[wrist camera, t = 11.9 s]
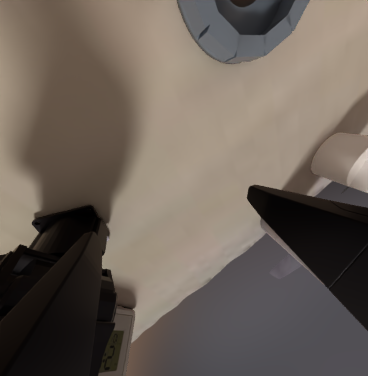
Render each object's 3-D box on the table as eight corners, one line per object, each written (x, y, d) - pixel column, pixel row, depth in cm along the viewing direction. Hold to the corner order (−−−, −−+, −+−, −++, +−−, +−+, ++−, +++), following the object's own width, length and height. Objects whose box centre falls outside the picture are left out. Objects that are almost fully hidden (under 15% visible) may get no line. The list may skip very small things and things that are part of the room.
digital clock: (138, 308, 34) (142, 378, 25) (105, 329, 33) (97, 408, 25) (84, 285, 25) (60, 382, 16) (37, 314, 24) (-15, 431, 15)
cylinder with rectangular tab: (332, 171, 34) (417, 197, 24) (304, 177, 31) (386, 210, 21) (353, 130, 29) (470, 141, 19) (323, 134, 27) (438, 149, 17)
